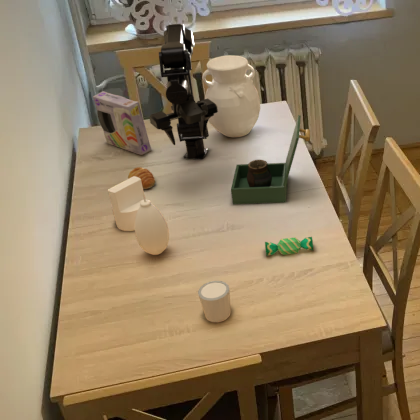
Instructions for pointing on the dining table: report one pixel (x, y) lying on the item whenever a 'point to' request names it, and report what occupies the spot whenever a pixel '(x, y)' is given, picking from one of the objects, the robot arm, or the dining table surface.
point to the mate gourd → (259, 174)
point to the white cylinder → (215, 300)
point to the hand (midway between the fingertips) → (188, 140)
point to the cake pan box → (122, 122)
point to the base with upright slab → (126, 202)
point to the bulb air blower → (151, 228)
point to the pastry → (143, 177)
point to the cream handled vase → (232, 95)
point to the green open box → (259, 194)
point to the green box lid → (294, 147)
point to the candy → (289, 246)
